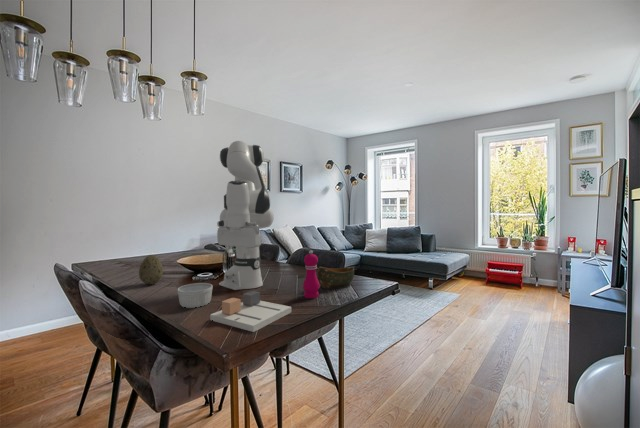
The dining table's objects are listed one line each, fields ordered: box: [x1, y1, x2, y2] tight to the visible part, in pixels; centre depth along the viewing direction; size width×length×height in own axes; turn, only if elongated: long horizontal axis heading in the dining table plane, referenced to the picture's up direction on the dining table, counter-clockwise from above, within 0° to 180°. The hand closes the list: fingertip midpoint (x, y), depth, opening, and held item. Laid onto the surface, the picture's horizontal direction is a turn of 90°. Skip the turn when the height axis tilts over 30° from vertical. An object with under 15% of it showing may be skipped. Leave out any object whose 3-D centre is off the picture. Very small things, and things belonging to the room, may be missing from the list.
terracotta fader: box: [221, 297, 242, 315], centre depth 106 cm, size 4×5×4 cm
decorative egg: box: [138, 254, 164, 285], centre depth 154 cm, size 11×11×15 cm
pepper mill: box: [302, 249, 321, 299], centre depth 130 cm, size 7×7×20 cm
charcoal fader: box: [242, 290, 261, 306], centre depth 114 cm, size 4×5×4 cm
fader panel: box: [209, 300, 293, 333], centre depth 107 cm, size 20×20×2 cm
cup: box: [316, 266, 355, 290], centre depth 146 cm, size 13×20×10 cm, turn 87°
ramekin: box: [177, 282, 213, 309], centre depth 122 cm, size 13×13×7 cm
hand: (239, 257), depth 117 cm, fingers open, 7 cm apart
